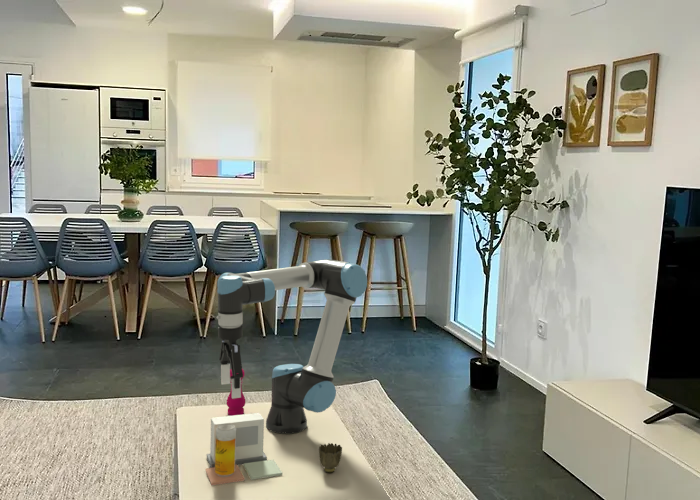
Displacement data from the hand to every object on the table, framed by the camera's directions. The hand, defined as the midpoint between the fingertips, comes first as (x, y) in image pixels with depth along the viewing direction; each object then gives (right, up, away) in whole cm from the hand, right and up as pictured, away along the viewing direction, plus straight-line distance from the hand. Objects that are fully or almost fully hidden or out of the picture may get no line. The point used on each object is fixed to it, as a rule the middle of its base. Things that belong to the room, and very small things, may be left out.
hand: (230, 390), depth 209 cm
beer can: (-1, -24, -6) cm, 25 cm away
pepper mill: (-7, -19, +47) cm, 51 cm away
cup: (+31, -26, 0) cm, 41 cm away
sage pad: (+10, -25, -1) cm, 27 cm away
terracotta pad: (-1, -25, -6) cm, 26 cm away
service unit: (+1, -24, +6) cm, 24 cm away
